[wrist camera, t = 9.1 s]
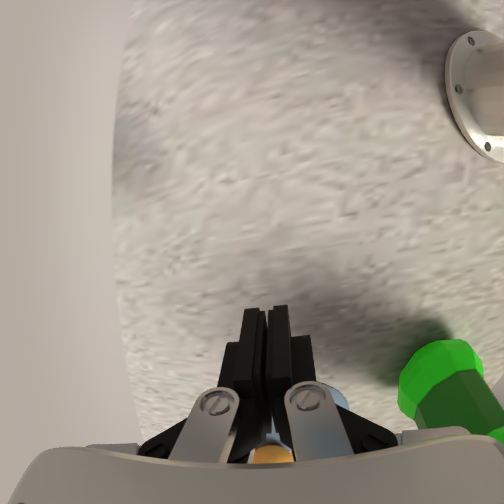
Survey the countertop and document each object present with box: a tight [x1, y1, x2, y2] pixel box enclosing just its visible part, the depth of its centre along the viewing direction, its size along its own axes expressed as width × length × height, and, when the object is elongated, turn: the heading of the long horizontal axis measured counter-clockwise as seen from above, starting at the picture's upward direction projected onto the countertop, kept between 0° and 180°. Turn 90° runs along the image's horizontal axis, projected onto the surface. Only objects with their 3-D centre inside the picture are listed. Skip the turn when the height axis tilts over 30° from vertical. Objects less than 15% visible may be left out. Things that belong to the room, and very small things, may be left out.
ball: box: [252, 445, 293, 464], centre depth 31 cm, size 6×6×6 cm
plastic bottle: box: [397, 339, 504, 445], centre depth 16 cm, size 10×10×25 cm
